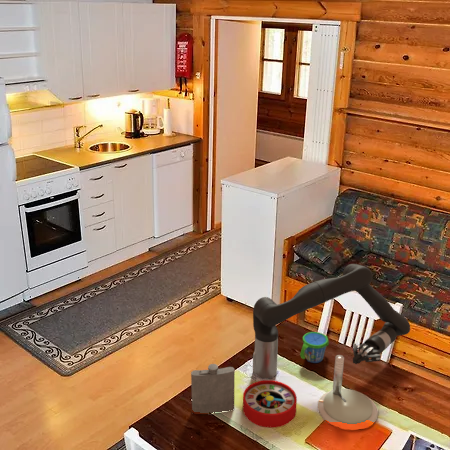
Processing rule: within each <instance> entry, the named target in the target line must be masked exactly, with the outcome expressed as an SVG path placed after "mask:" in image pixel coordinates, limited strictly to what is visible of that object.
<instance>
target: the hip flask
mask: <svg viewBox="0 0 450 450" xmlns="http://www.w3.org/2000/svg"><path fill="white" fill-rule="evenodd" d="M235 371H236V370H235V368H234V367H233V366H227V367H221V368H219V365H218V364H216V363H210V364H209V365H208V366H207V369H202V370H200V369H198V370H196V369H195V370H192V371H191V373H190V377H191V378H190V381H191V382H190V383H191V386H190V387H191V411H192V410H193V411H194V412H200V413H209V412H210V413H213V412H214V413H215V412H222V411H229V410H230V411H229V412H231V410H232V411H234V410H235ZM233 409H234V410H233Z"/></svg>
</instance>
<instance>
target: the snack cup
mask: <svg viewBox="0 0 450 450" xmlns="http://www.w3.org/2000/svg"><path fill="white" fill-rule="evenodd" d="M302 343H303V344H302V347H301V351H300V354H299V357H300V358H301V359H302V360H305V359H306V361H307V362H308V363H312V364H319V363H321V362H322V361H324V360H323V359H324V358H325V353H326V349H327V347H328V346H329V344H330V340H329V336H327V335H326V334H324V333H321V332H318V331H309V332H307V333H305V334H304V335H303V336H302Z"/></svg>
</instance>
